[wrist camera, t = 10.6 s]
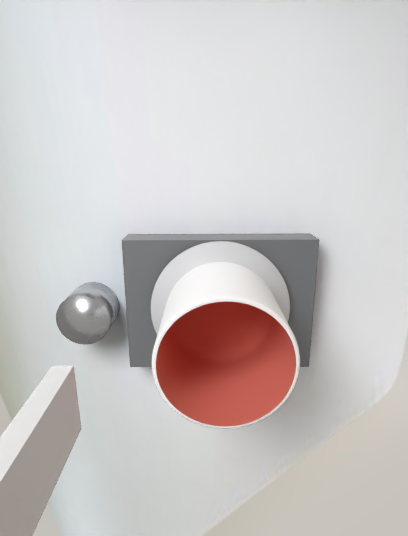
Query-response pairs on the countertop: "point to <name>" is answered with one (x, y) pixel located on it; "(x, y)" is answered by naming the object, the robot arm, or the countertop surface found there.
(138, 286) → the scale
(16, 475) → the robot arm
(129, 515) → the countertop surface
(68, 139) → the countertop surface
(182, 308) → the cup
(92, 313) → the cylinder
